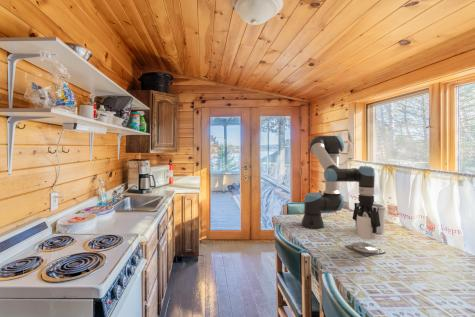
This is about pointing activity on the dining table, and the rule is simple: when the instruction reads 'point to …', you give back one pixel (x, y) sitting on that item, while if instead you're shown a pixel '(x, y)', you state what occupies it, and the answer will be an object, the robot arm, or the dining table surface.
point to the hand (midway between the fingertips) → (365, 235)
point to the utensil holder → (380, 217)
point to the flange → (365, 249)
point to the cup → (364, 226)
